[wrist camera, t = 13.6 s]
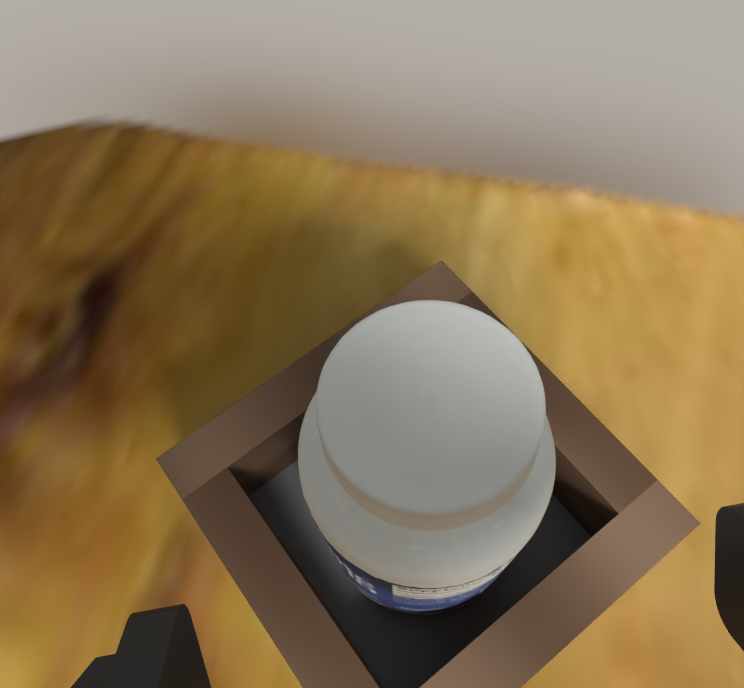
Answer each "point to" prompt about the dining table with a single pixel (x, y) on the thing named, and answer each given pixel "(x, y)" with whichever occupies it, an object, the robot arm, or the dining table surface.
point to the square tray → (401, 630)
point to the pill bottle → (427, 454)
